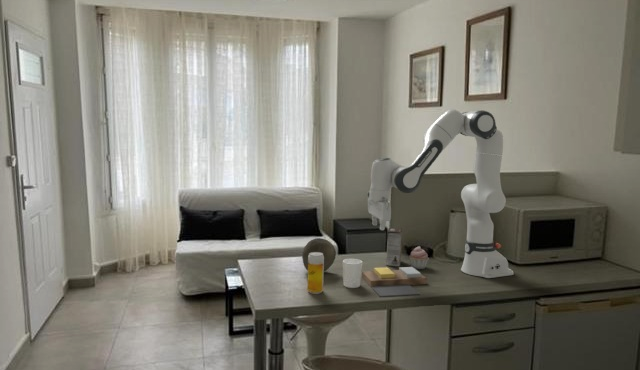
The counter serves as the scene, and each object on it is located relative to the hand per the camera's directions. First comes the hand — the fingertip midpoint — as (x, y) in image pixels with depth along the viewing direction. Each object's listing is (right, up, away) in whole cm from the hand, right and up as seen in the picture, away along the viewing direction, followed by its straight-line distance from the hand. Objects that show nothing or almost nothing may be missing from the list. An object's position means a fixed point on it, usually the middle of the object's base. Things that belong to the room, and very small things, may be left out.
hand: (378, 227), depth 205 cm
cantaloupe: (-26, -20, +2) cm, 33 cm away
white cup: (-12, -22, -14) cm, 29 cm away
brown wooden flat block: (+6, -22, -7) cm, 23 cm away
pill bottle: (-27, -23, -22) cm, 42 cm away
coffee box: (+9, -19, +18) cm, 28 cm away
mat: (+4, -23, -19) cm, 30 cm away
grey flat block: (+13, -19, -6) cm, 23 cm away
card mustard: (+2, -19, -7) cm, 20 cm away
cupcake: (+20, -20, +13) cm, 31 cm away
